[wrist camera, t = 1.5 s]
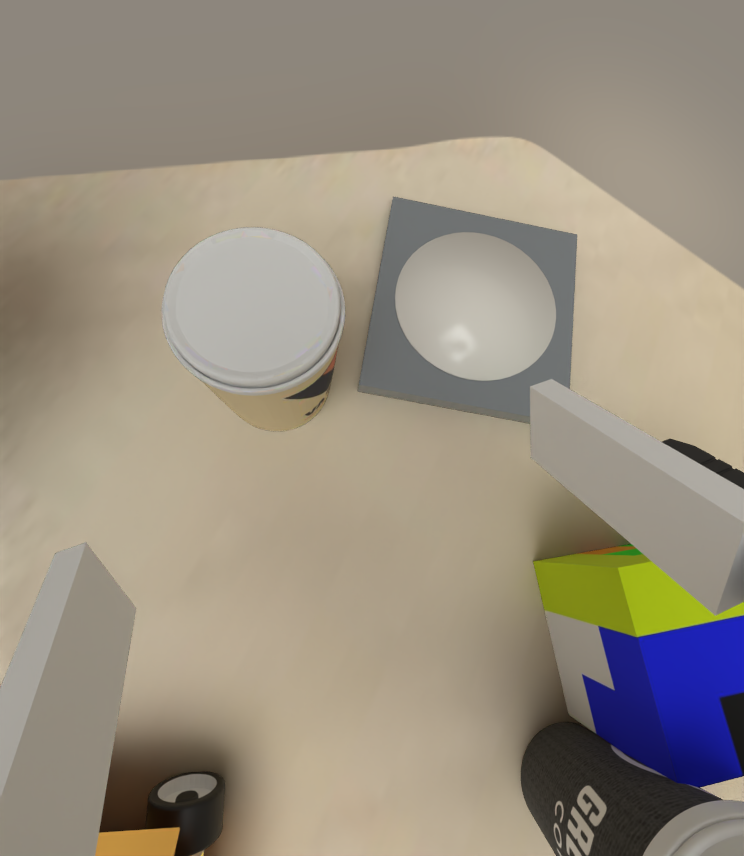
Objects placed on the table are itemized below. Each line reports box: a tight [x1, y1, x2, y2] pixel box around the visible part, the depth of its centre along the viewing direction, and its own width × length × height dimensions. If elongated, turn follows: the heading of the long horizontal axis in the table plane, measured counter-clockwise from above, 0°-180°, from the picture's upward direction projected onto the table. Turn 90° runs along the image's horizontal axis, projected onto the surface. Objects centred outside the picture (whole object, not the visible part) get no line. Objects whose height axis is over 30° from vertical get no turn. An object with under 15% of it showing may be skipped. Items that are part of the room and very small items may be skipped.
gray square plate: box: [358, 197, 577, 423], centre depth 36 cm, size 16×17×2 cm
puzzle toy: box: [533, 544, 744, 788], centre depth 27 cm, size 10×10×10 cm
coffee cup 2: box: [521, 722, 744, 856], centre depth 22 cm, size 10×10×15 cm
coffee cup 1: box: [162, 227, 345, 431], centre depth 28 cm, size 9×9×12 cm
